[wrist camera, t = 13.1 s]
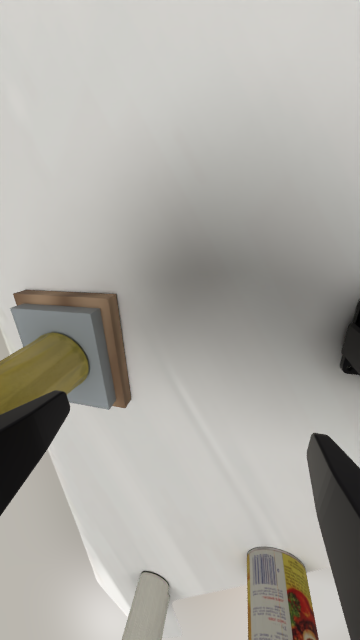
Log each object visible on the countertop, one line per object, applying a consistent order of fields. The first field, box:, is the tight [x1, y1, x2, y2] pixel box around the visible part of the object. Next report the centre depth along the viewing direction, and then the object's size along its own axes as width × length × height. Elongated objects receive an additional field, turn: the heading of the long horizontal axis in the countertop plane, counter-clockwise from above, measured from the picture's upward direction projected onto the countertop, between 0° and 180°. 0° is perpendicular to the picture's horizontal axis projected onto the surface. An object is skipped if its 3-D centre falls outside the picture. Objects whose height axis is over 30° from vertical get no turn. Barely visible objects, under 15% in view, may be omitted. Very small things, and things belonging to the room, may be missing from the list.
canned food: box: [247, 547, 318, 640], centre depth 27 cm, size 8×8×12 cm
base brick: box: [13, 290, 131, 408], centre depth 25 cm, size 11×13×2 cm
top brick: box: [10, 304, 116, 410], centre depth 23 cm, size 9×11×2 cm
